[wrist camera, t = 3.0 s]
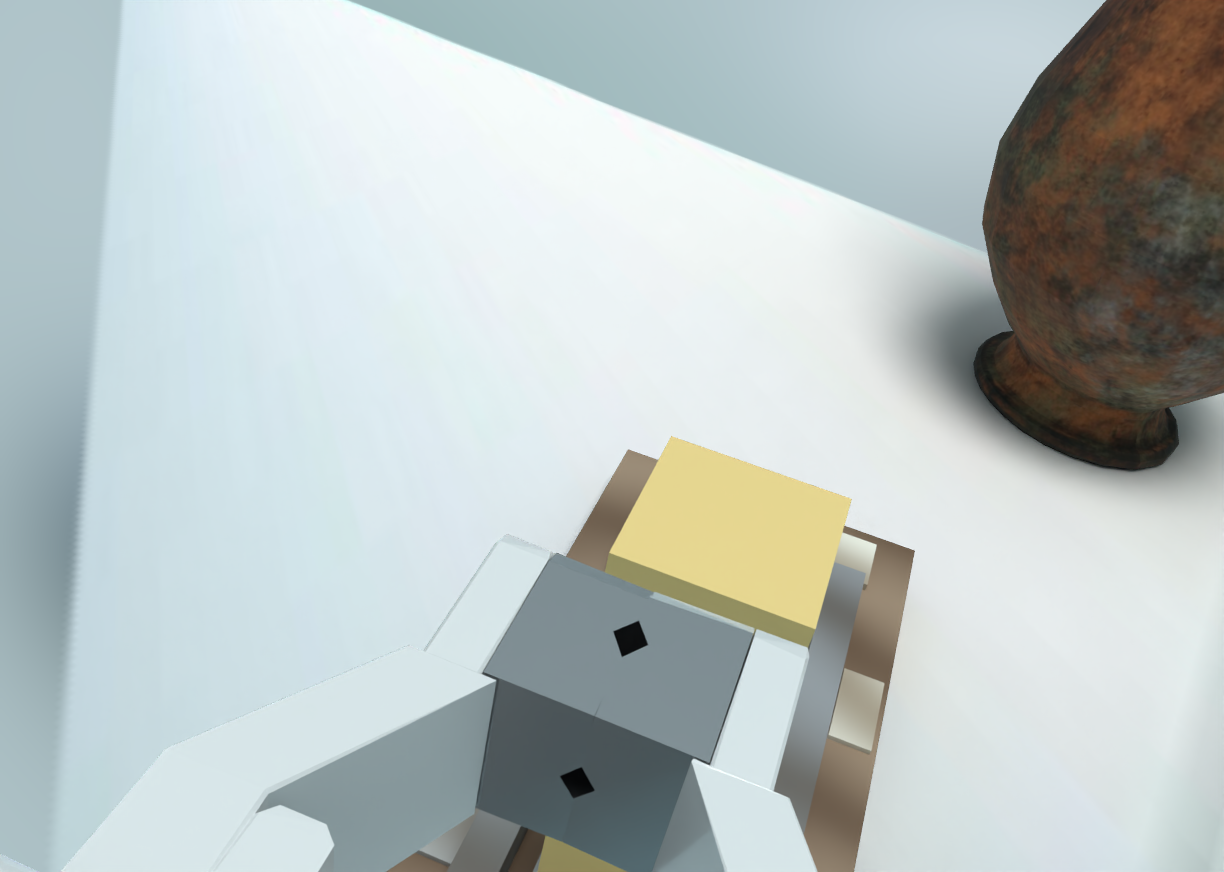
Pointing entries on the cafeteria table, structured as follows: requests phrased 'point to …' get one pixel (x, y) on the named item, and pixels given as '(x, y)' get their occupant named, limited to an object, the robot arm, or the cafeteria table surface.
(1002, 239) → the brown vase
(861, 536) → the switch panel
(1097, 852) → the cafeteria table surface
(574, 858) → the slider tab
